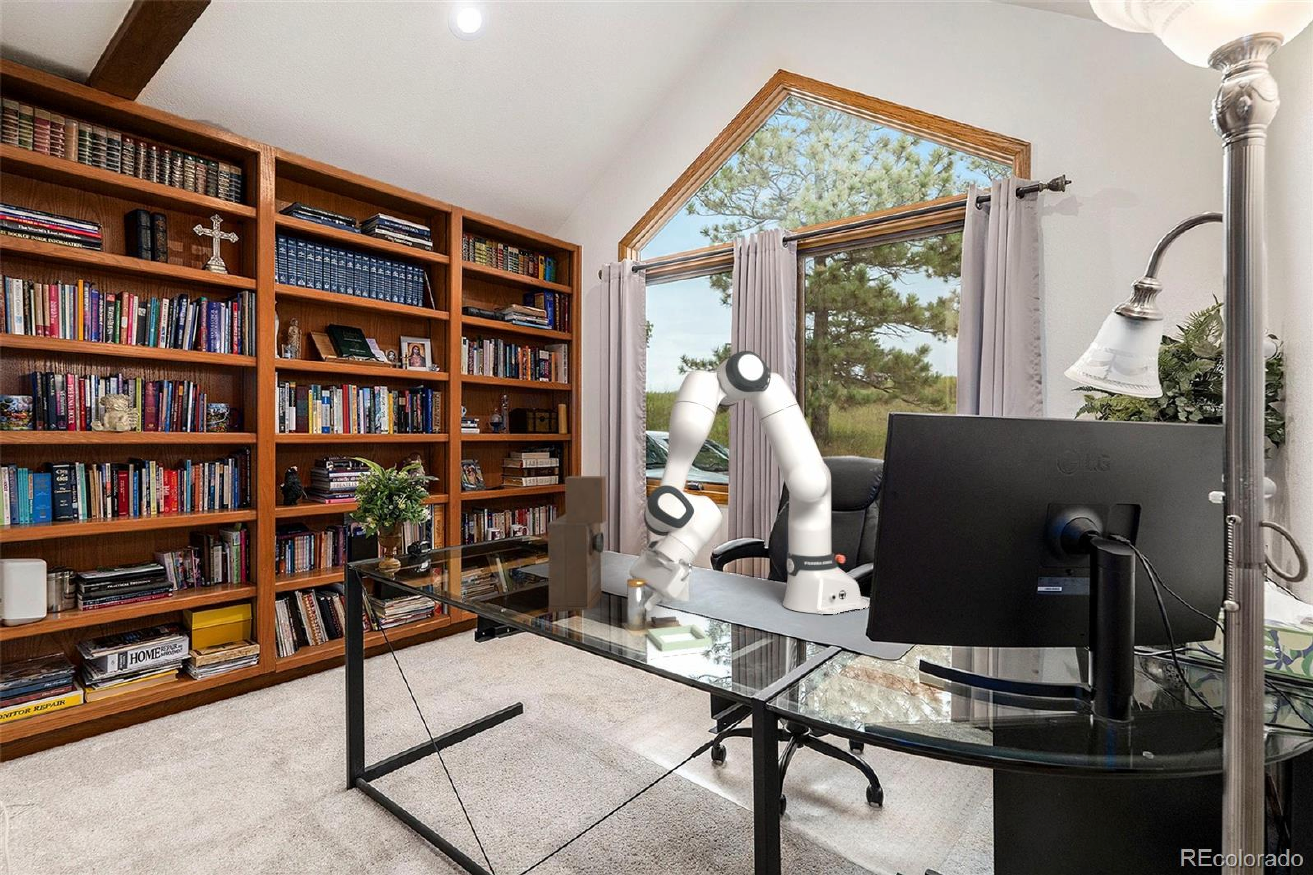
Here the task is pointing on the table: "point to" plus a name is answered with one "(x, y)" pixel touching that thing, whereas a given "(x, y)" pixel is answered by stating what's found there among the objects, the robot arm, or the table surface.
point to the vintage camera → (577, 546)
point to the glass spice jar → (636, 604)
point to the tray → (678, 645)
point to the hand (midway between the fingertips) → (636, 602)
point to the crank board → (654, 625)
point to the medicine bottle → (681, 594)
